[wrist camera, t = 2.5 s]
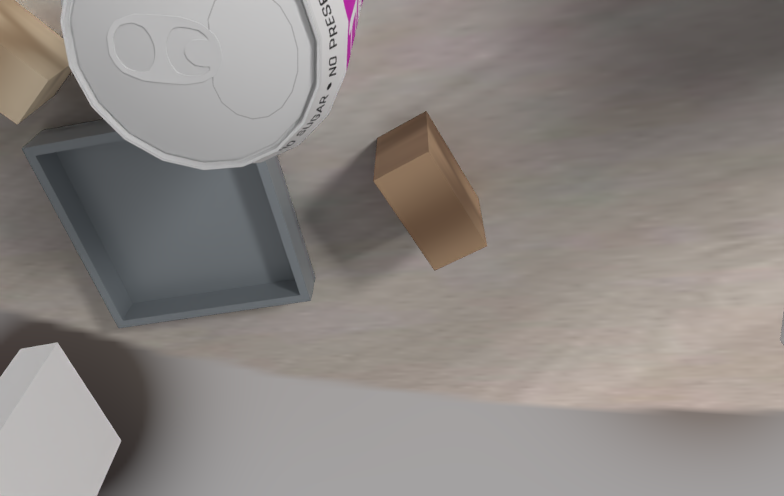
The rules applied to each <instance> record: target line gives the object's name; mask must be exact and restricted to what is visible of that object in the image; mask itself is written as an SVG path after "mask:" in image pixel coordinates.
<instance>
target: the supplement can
mask: <svg viewBox="0 0 784 496" xmlns="http://www.w3.org/2000/svg"><path fill="white" fill-rule="evenodd" d="M362 2H363V0H61V5H62V13H61V19H60V23H61V28H62V33H63V38H64V43H65V48H66V53H67V58H68V64H69V67H70V69H71V71H72V73H73V74H74V76H75V78H76V80H77V82H78V83H79V85H80V87H81V89H82V91H83V92H84V94H85V96H86V98H87V100H88V101H89V103H90V105H91V107H92V108H93V109H94V110H95V111H96V112H97V113H98V114H99V115H100V116H101V117H102V118H103V119H104V120H105V121H106V122H107V123H108V124H109V125H110V126H111V127H112V128H113V129H114V130H115V131H116V132H117V133H118V134H119V135H120V136H121V137H122V138H123V139H125V140H126V141H128V142H130V143H132V144H134V145H135V146H137V147H139V148H141V149H143V150H144V151H146V152H148V153H150V154H152V155H153V156H155V157H157V158H159V159H160V160H162V161H166V162H170V163H175V164H179V165H184V166H188V167H192V168H197V169H201V170H211V169H222V168H234V167H244V166H246V165H248V164H250V163H261V162H263V161H265V160H267V159H270V158H272V157H274V156H276V155H278V154H281V153H283V152H285V151H287V150H289V149H292V148H294V147H296V146H298V145H300V144H301V142H302V141H303V140H304V139H305V138H306V137H307V136H308V135H309V134H310V133H311V132H312V131H313V130H314V129H315V128H316V127H317V126H318V125H319V124H320V123H321V122H322V121H323V120H324V119H325V118H326V117H327V116H328V115H329V113H330V110H331V108H332V106H333V103H334V101H335V98H336V96H337V94H338V91H339V89H340V86H341V84H342V82H343V79H344V77H345V74H346V71H347V67H348V63H349V58H350V54H351V50H352V45H353V41H354V37H355V32H356V28H357V24H358V19H359V15H360V11H361V7H362Z"/></svg>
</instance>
